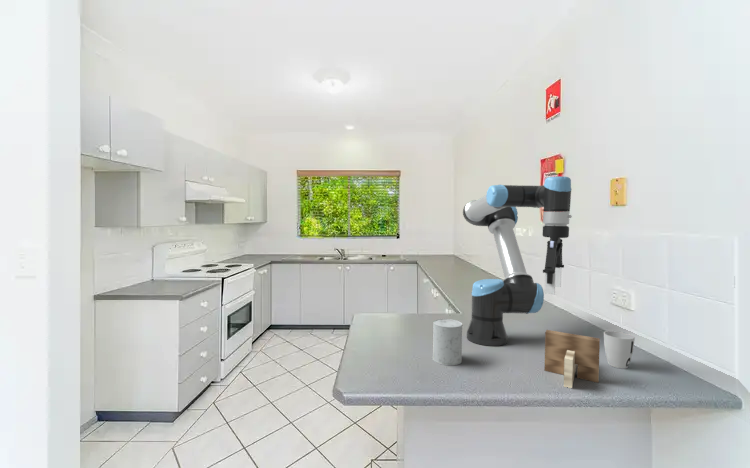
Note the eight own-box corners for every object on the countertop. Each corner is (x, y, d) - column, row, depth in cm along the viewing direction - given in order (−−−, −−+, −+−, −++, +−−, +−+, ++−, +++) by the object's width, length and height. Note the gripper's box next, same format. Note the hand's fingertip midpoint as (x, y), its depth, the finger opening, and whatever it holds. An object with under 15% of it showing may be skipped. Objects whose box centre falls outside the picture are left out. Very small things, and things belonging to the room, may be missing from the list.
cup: (635, 373, 104) (636, 340, 104) (603, 366, 108) (604, 335, 108) (632, 364, 111) (633, 333, 111) (602, 358, 115) (603, 329, 115)
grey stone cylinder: (462, 356, 116) (463, 320, 116) (460, 367, 107) (461, 328, 106) (434, 352, 119) (435, 317, 119) (430, 362, 110) (430, 325, 110)
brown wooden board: (544, 370, 105) (545, 332, 105) (545, 367, 108) (546, 329, 107) (598, 382, 97) (599, 341, 97) (598, 378, 100) (599, 338, 99)
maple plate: (571, 388, 94) (572, 359, 93) (563, 386, 95) (564, 358, 94) (576, 364, 110) (577, 340, 110) (569, 362, 111) (570, 338, 111)
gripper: (564, 226, 97) (560, 299, 99) (573, 224, 118) (570, 285, 119) (535, 225, 102) (532, 295, 103) (549, 224, 122) (546, 282, 123)
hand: (552, 290), depth 111 cm, fingers open, 13 cm apart
